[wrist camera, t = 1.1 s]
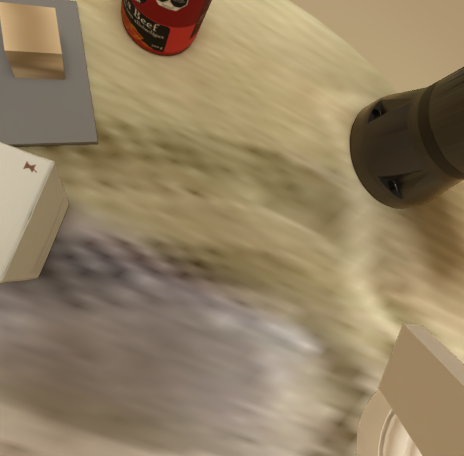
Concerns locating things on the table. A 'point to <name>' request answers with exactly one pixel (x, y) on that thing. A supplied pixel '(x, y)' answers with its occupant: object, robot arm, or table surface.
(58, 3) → the slate mat
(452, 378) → the robot arm
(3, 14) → the maple cube
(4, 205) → the supplement box
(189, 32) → the canned food
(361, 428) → the honey pot
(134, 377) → the table surface
